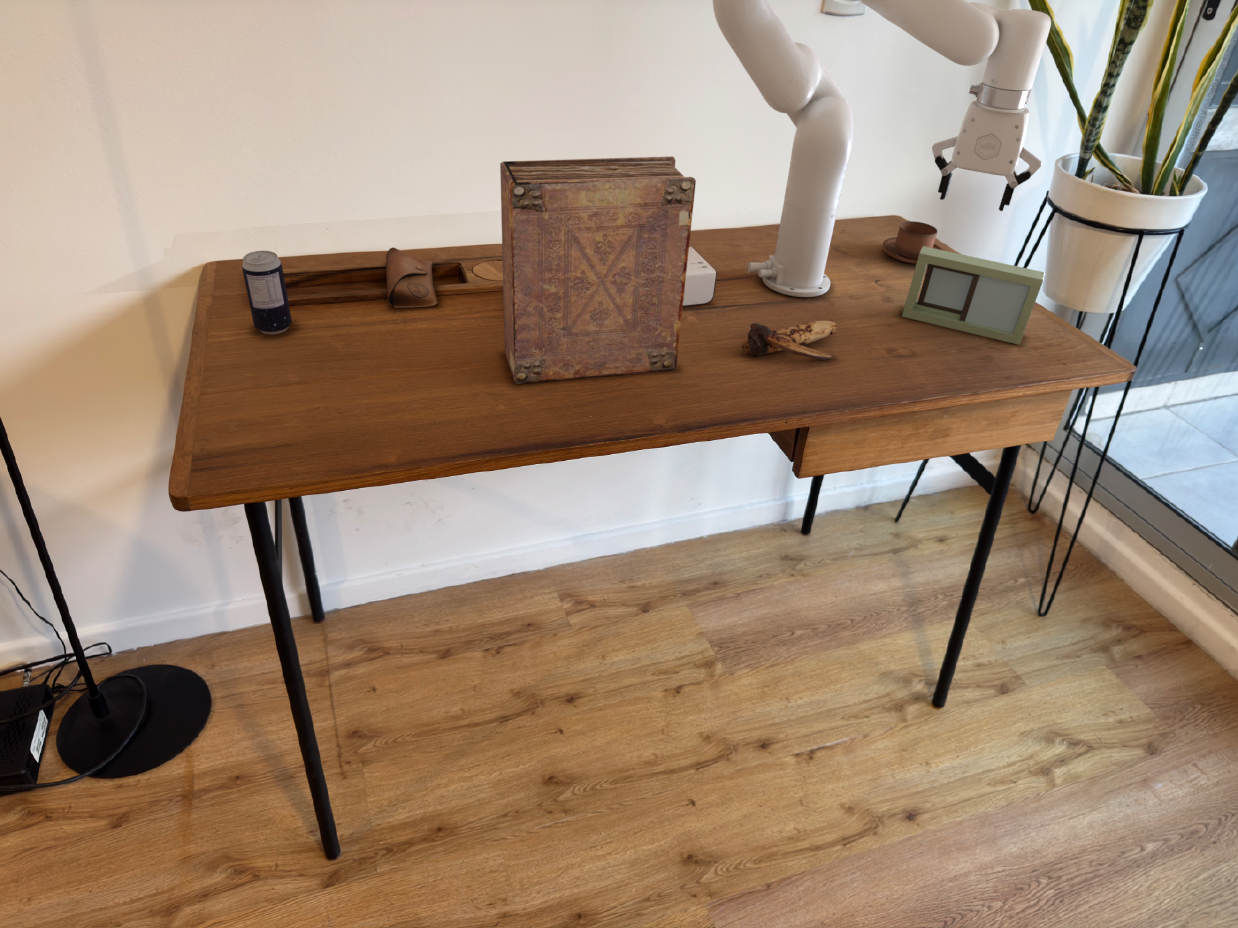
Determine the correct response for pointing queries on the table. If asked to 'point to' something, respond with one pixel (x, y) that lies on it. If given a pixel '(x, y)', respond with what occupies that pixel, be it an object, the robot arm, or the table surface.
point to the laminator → (699, 280)
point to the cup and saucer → (911, 241)
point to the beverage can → (266, 292)
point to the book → (593, 265)
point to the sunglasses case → (409, 280)
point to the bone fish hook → (788, 339)
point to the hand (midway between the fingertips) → (971, 203)
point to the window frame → (980, 296)
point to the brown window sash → (945, 289)
